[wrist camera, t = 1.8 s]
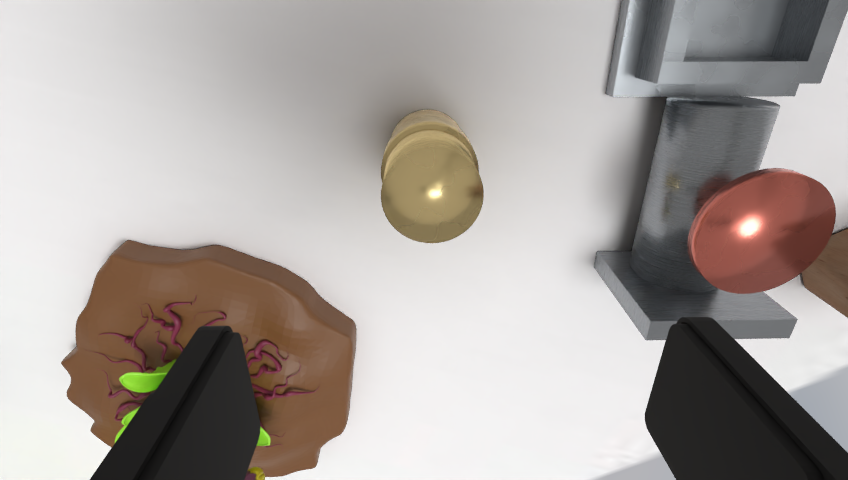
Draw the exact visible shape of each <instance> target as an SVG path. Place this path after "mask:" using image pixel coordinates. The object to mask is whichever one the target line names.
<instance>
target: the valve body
mask: <svg viewBox="0 0 848 480" xmlns="http://www.w3.org/2000/svg"><path fill="white" fill-rule="evenodd" d="M847 10H848V0H622V1H621V7H620V13H619V19H618V25H617V31H616V37H615V43H614V48H613V54H612V60H611V66H610V72H609V78H608V84H607V90H606V94H607V95H609V96H612V97H667V99H666V104H665V108H664V113H663V117H662V121H661V126H660V130H659V134H658V139H657V143H656V148H655V152H654V156H653V161H652V165H651V169H650V174H649V178H648V183H647V187H646V191H645V196H644V200H643V204H642V209H641V213H640V218H639V222H638V226H637V231H636V235H635V239H634V244H633V248H632V251H597V254H596V259H595V265H594V268H595V269H596V271H597V272H598V274H599V275H600V276H601V278H602V279H603V281H604V282H605V283H606V285H607V286H608V288H609V289H610V291H611V292H612V293H613V295H614V296H615V298H616V299H617V300H618V302H619V303H620V305H621V306H622V307H623V309H624V310H625V312H626V313H627V315H628V316H629V317H630V319H631V320H632V322H633V323H634V324H635V326H636V327H637V329H638V330H639V331H640V333H641V334H642V336H643V337H644V338H645V340H666V339H667V335H668V332H669V329H670V327H671V326H672V325H673V324H676V323H677V321H678V320H679V319H680V318H682V317H711V318H713V319H714V320H715V321H716V322H717V323H718V324H719V325H720V326H721V327H722V328H723V329H724V330H725V331H726V332H727V333H728V334H729V335H730V336H731V337H732V338H733V339H757V338H789V337H790V335H791V333H792V331H793V329H794V326H795V324H796V322H797V320H798V319H797V318H795V317H794V316H793V315H792V314H790V313H789V312H788V311H787V310H785V309H784V308H783V307H782V306H780V305H779V304H778V303H777V302H775V301H774V300H773V299H772V298H770V297H769V296H768V295H767V294H765V293H764V292H763V291H766V290H770V289H772V288H775V287H778V286H780V285H782V284H784V283H786V282H788V281H790V280H791V279H793V278H795V277H796V276H797V275H799V274H800V273H802V272H803V271H804V270H805V269H806V268H808V267H809V266H810V265H811V264H812V263H813V262H814V261H815V260H816V259H817V257H818V256H819V255H820V254H821V252H822V251H823V249H824V248H825V246H826V245H827V243H828V241H829V239H830V237H831V234H832V232H833V229H834V224H835V217H836V211H835V204H834V201H833V198H832V196H831V194H830V193H829V191H828V190H827V189H826V187H824V186H823V185H822V184H821V183H820V182H818V181H816V180H814V179H812V178H810V177H808V176H805V175H803V174H800V173H798V172H795V171H792V170H788V169H781V168H771V169H763V170H759V168H760V165H761V162H762V159H763V156H764V153H765V150H766V147H767V144H768V141H769V138H770V135H771V132H772V129H773V126H774V124H775V121H776V118H777V115H778V112H779V109H780V105H778V104H776V103H774V102H770V101H766V100H761V99H756V98H749V97H742V96H795V94H796V91H797V88H798V86H799V83H821V81H822V78H823V75H824V73H825V70H826V67H827V64H828V62H829V59H830V56H831V54H832V51H833V48H834V46H835V43H836V40H837V37H838V35H839V32H840V29H841V27H842V24H843V21H844V18H845V16H846V13H847Z"/></svg>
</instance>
